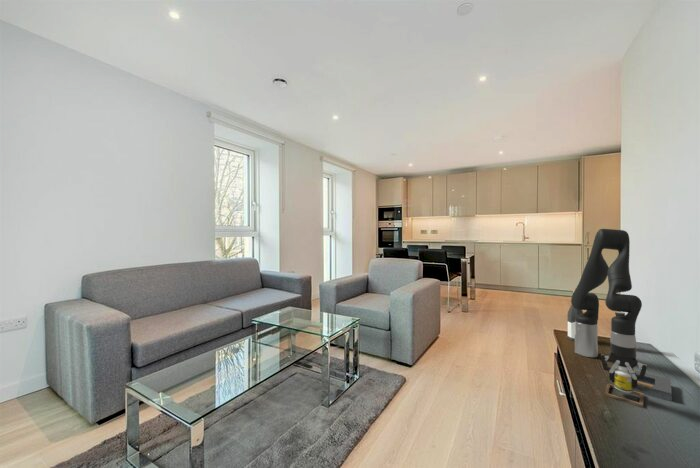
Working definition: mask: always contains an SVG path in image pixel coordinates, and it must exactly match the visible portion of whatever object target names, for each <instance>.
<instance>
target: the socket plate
mask: <svg viewBox="0 0 700 468" xmlns="http://www.w3.org/2000/svg"><path fill="white" fill-rule="evenodd" d="M634 370H635V373H636V374H637V375H640V372H641V370H640V371H639V370H636V369H634ZM632 390H633V391H637V392H640V393H644V395H648V396H651V397H655V398H660V399H662V400H666V401H669V402H672V399H673V397H672V395H673V394H672V382H671V378H668V377H664V376H660V375H656V374H652V373H648V372H646V373H645V376H644V379H643V380H641V379H638V380H637V387H635V389H634V388H632Z"/></svg>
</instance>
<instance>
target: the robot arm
mask: <svg viewBox="0 0 700 468" xmlns="http://www.w3.org/2000/svg"><path fill="white" fill-rule="evenodd" d="M630 243H631V242H630V236H629V233H628V232H627V231H626V230H624V229H614V228H613V229H611V228H600V229H599V230H598V231H597V232H596V233H595V236H594V240H593V243H592V248H591V250H590V254H589V255H588V256H589V257H588V260H587V261H586V263H585V266H584V268H583V271H582V274H581V277H580V280H579V282H578V283H577V286H576V287H575V288H574V290H575V291H574V290H573V291H574V293H573V292H572V296H571V297H570V298H571V300H570V302H571V305H572V306H573V307H574V308H575V309H579V310H582V311H584V312H583V314H579V315H577V316H576V317H575V330H576V335H575V341H574V353H575V354H576V355H579V356H583V357H585V358H597V357H598V356H599V349H598V348H599V345H598V343H599V342H598V341H599V340H598V336H599V335H598V330H599V329H598V321H599V309H600V301H599V297H598V295H597V294H596V293H594V292H591V291H593V290H594V289H596V288H598V287H600V286H601V285H602V284H604V283H605V281H606V280H608V291H607V294H606V299H605V302H604V303H605V306H606V307H607V309H609V310H610V311H613V312H623V313H625V316H616V315H615V316H613V317H611V323H610V324H611V325H610V330H611V331H610V339H609V341H610V346H609V347H610V352H609V354H604V353H601V354H600V360H601V364H602V368H603V370H604V371H607V372H608V374H609V376H608V377H609V381H611V383H613V384H614V370H615V369H617V366H618V365H619V366H623V367H627V368H628V370H629V372H630V374H631V375H632V388H634V389H635V387H637V380H638V379H641V380H643V379H644V376H645V373H647V369H648V364H647V363H642V362H639V361H638V360H637V338H636V324H637V323H636V322H637V319H638V316H639V314H640V312H641V309H642V307H643V304H642V303H643V302H642V300H641V299H640V298H639V296H638V295H635V294H623V293H625V292H629V291H631V290H632V288H633V285H632V280H631V273H630V248H631V247H630V246H631V245H630ZM604 249H605V250H615V251H618V254H617V257H616V258H615V260H613V262H612V263H611V264H610V266H609V265H608V263H607V262H606V260H605V258H604V256H603V253H602V252H603V250H604ZM608 360H610V361H611V362H612V365H611V366H608V362H607V361H608ZM636 366H638V368H639V370H640V375H637V374H636V373H635V370H636V369H635V367H636Z"/></svg>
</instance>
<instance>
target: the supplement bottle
mask: <svg viewBox="0 0 700 468" xmlns="http://www.w3.org/2000/svg"><path fill="white" fill-rule="evenodd" d="M613 385H614V387H615V388H616V389H615V388H614V389H615V390H618V391H620V392H622V393H626V394H627V393H629V394H631V393H630V392H632V375H631V374H630V372H629V370H628V368H627V367H623V366H619V365H618V366H617V368H616V369H615V370H614V383H613Z"/></svg>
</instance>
